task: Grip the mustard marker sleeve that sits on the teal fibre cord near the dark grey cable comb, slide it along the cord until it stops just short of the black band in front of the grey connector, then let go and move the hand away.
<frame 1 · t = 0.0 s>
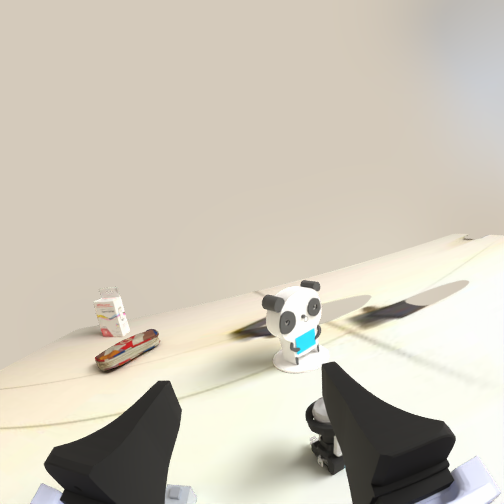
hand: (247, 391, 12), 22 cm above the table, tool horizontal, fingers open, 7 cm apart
push button: (327, 458, 27), on the table
pencil case: (132, 358, 63), on the table
ink cartridge box: (116, 334, 79), on the table
panda figurine: (300, 359, 53), on the table
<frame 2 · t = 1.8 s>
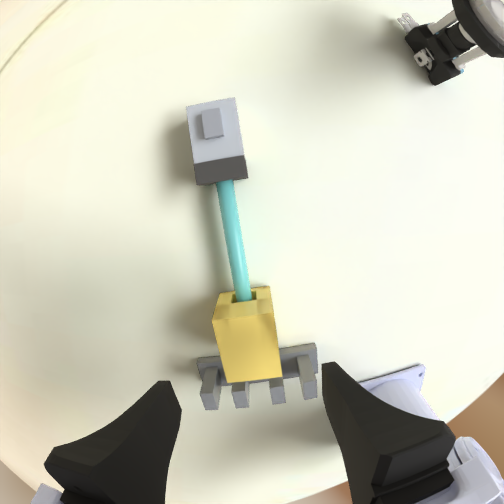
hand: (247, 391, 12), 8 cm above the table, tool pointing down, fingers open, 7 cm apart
push button: (420, 52, 15), on the table
band: (225, 172, 18), on the table
marker sleeve: (249, 333, 18), point 2 cm above the table, slide at 0.0 cm
connector: (219, 137, 17), on the table
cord: (240, 264, 19), resting on band
cable comb: (258, 364, 21), on the table
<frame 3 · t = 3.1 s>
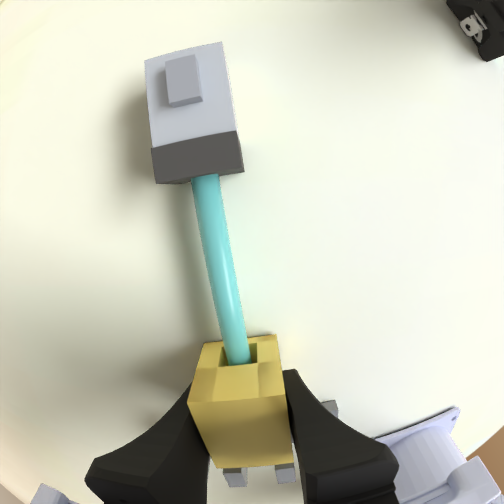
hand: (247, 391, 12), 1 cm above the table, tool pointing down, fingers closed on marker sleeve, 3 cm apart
push button: (464, 22, 9), on the table
band: (208, 163, 11), on the table
marker sleeve: (246, 404, 11), point 2 cm above the table, slide at 0.0 cm, touching gripper
connector: (200, 110, 11), on the table
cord: (232, 303, 12), resting on band
cable comb: (259, 425, 14), on the table
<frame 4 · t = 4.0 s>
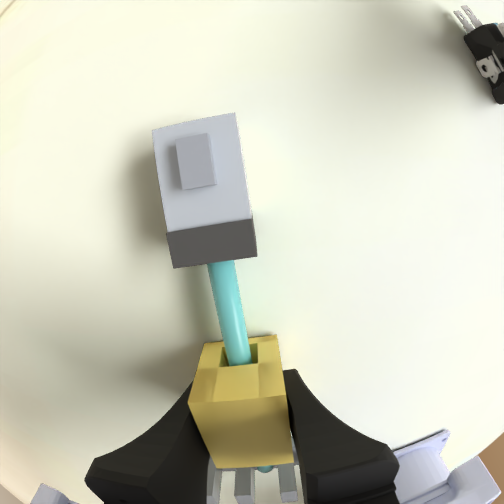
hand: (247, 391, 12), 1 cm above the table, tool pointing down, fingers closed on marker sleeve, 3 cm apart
push button: (480, 58, 9), on the table
band: (220, 231, 12), on the table
marker sleeve: (247, 404, 11), point 2 cm above the table, slide at 2.8 cm, touching gripper
connector: (211, 175, 11), on the table
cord: (243, 355, 13), resting on band
cable comb: (264, 451, 15), on the table
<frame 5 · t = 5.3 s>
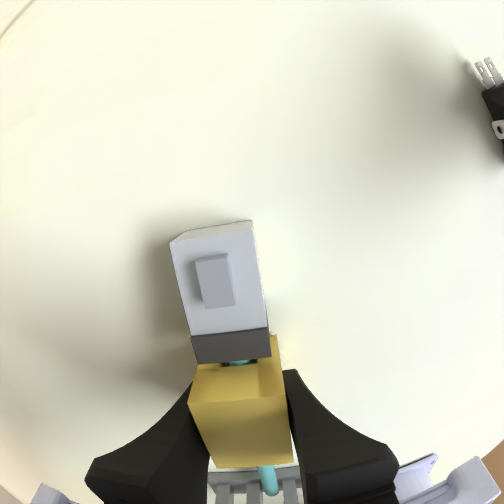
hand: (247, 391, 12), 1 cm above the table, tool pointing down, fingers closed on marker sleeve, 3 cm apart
push button: (496, 114, 10), on the table
band: (235, 315, 13), on the table
marker sleeve: (246, 404, 11), point 2 cm above the table, slide at 6.7 cm, touching gripper
connector: (225, 265, 12), on the table
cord: (255, 409, 14), resting on band
cable comb: (271, 476, 16), on the table
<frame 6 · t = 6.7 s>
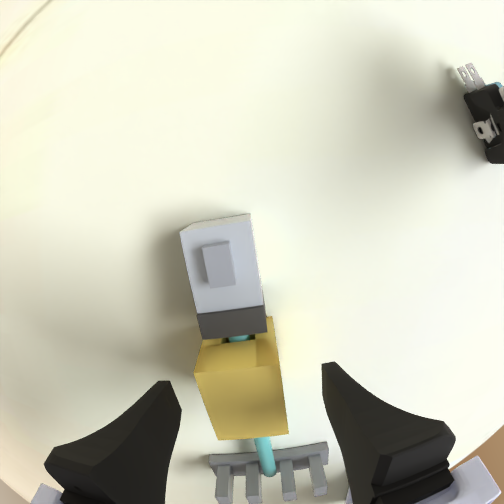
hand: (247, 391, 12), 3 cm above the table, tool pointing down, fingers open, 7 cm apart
push button: (478, 115, 12), on the table
band: (235, 298, 14), on the table
marker sleeve: (245, 379, 13), point 2 cm above the table, slide at 6.7 cm
connector: (227, 254, 14), on the table
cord: (253, 388, 16), resting on band
cable comb: (269, 458, 18), on the table
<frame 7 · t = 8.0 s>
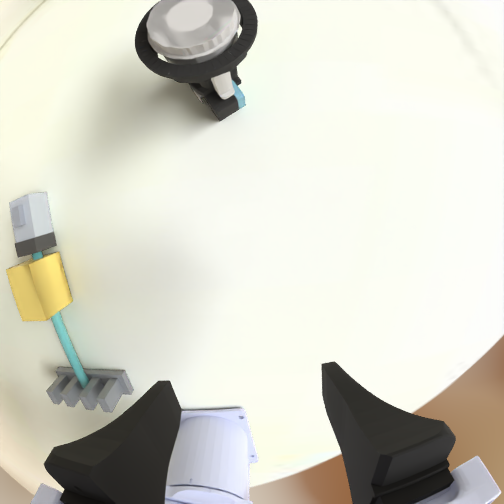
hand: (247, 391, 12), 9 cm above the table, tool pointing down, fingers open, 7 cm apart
push button: (212, 83, 18), on the table
band: (44, 241, 20), on the table
marker sleeve: (39, 286, 18), point 2 cm above the table, slide at 6.7 cm
connector: (39, 215, 19), on the table
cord: (62, 305, 21), resting on band
cable comb: (93, 378, 23), on the table
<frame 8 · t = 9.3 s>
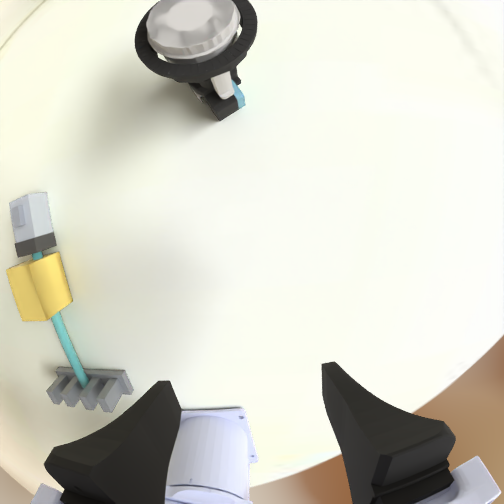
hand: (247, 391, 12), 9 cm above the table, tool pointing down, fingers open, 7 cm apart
push button: (212, 83, 18), on the table
band: (44, 241, 20), on the table
marker sleeve: (39, 286, 18), point 2 cm above the table, slide at 6.7 cm
connector: (39, 215, 19), on the table
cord: (62, 305, 21), resting on band
cable comb: (93, 378, 23), on the table
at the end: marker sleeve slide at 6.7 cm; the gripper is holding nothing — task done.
